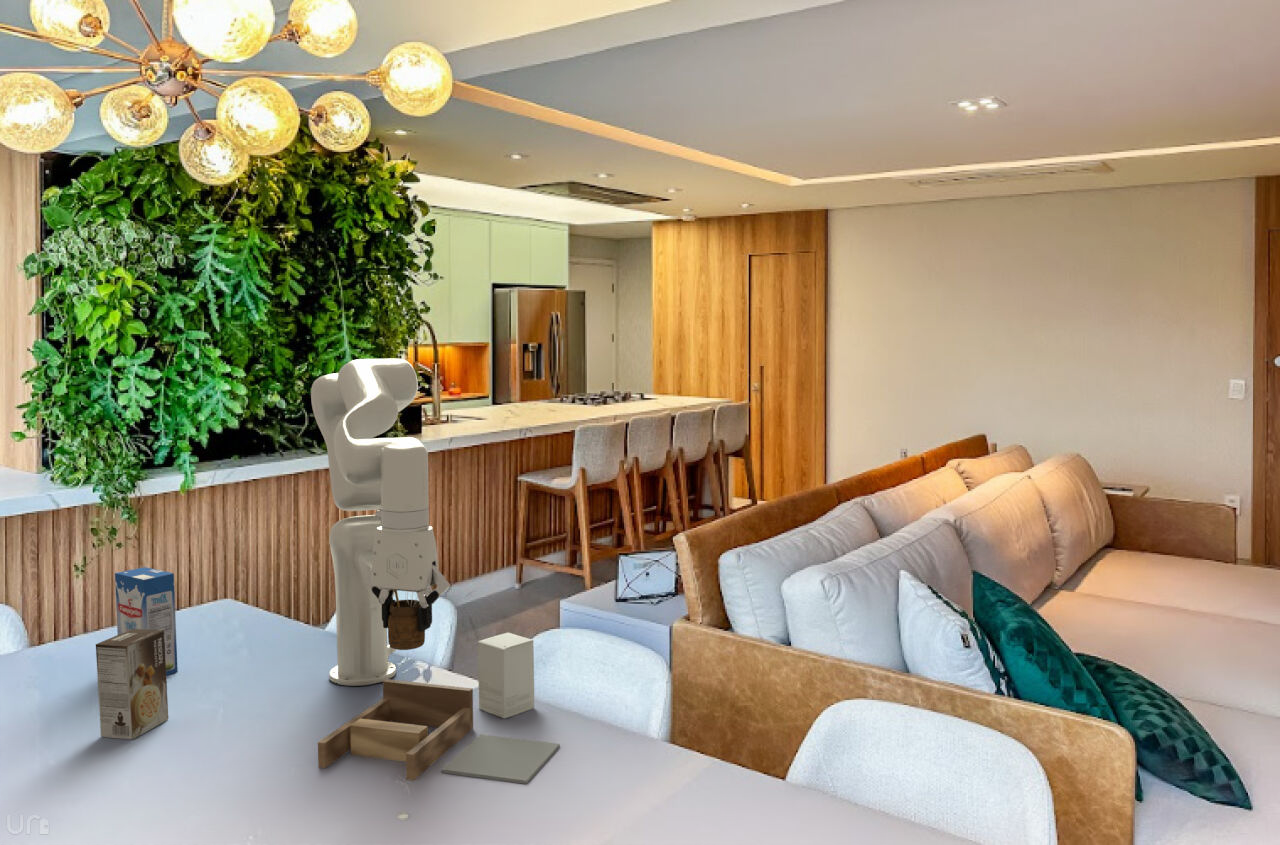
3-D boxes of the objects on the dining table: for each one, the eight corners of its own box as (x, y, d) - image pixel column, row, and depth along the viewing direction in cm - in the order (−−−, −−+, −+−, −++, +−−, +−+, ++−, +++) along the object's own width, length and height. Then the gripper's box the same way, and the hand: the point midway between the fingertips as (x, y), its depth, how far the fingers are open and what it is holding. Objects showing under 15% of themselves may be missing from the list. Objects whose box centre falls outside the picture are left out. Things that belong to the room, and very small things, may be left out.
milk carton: (177, 672, 197) (174, 573, 195) (148, 681, 192) (143, 579, 190) (148, 663, 202) (144, 566, 200) (119, 672, 197) (114, 573, 195)
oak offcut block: (360, 748, 161) (360, 718, 161) (428, 756, 158) (427, 726, 158) (350, 755, 158) (350, 725, 158) (419, 764, 155) (418, 733, 155)
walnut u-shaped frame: (387, 718, 173) (386, 679, 173) (473, 728, 169) (472, 688, 168) (318, 767, 154) (317, 723, 153) (413, 780, 149) (412, 735, 149)
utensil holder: (406, 653, 159) (405, 580, 158) (379, 646, 163) (377, 574, 161) (432, 643, 164) (432, 572, 163) (405, 636, 168) (404, 567, 166)
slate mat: (480, 737, 165) (480, 734, 165) (559, 746, 161) (559, 743, 161) (441, 772, 152) (441, 769, 152) (526, 783, 148) (526, 780, 148)
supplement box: (535, 708, 178) (535, 639, 177) (503, 719, 173) (502, 649, 172) (509, 698, 183) (508, 631, 182) (477, 708, 178) (476, 640, 177)
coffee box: (137, 717, 174) (133, 627, 172) (169, 719, 172) (166, 629, 171) (98, 737, 165) (94, 643, 163) (132, 740, 164) (128, 645, 162)
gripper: (345, 520, 160) (348, 629, 162) (442, 526, 155) (443, 639, 157) (370, 512, 167) (372, 616, 169) (463, 518, 163) (464, 625, 164)
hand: (407, 626), depth 163 cm, fingers closed on utensil holder, 5 cm apart
